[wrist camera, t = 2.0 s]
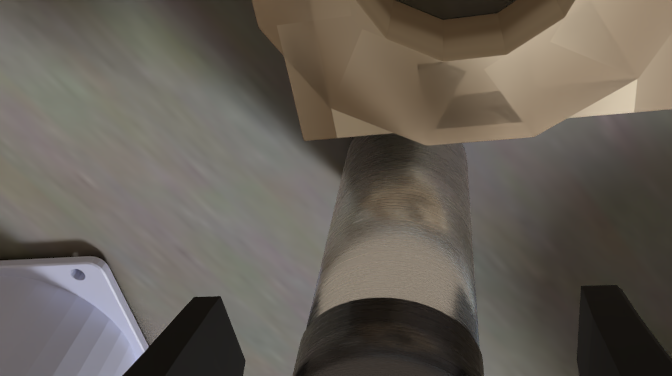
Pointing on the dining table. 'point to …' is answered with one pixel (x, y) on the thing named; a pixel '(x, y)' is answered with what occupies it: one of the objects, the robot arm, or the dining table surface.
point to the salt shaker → (396, 267)
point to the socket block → (468, 66)
